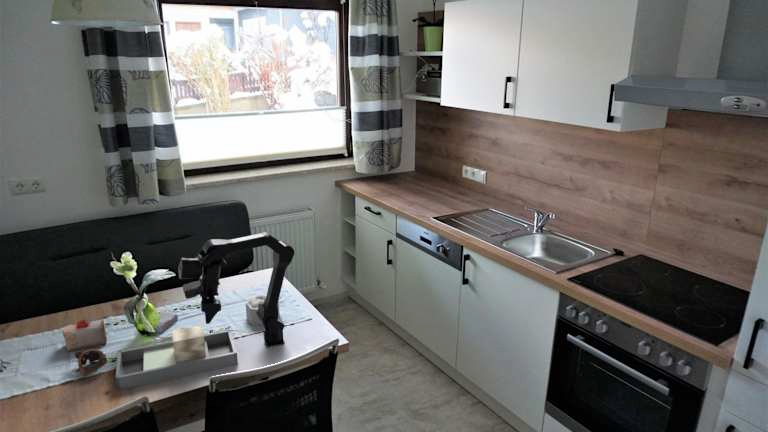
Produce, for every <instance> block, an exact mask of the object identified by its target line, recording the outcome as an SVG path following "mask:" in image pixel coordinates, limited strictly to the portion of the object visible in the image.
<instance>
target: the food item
mask: <svg viewBox="0 0 768 432" xmlns="http://www.w3.org/2000/svg"><path fill="white" fill-rule="evenodd" d="M105 328H106V327H105V321H104V319H99V320H94V321H89V320H86V319H85V318H84V317H83V318H82V319H81V320H79V321H77V322H76V324H72V325H68V326H65V327H64V329H63V330H62V336H63V338H64V344H65V347H66V350H67V352H72V351H77V350H79V349H84V348H89V347H90V348H91V347H95V346H96V347H97V346H100V345H101V346H102V345H106V344H107V343H108V342H107V339H108V337H107V333H106V329H105Z"/></svg>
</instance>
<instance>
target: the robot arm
mask: <svg viewBox="0 0 768 432" xmlns="http://www.w3.org/2000/svg"><path fill="white" fill-rule="evenodd" d="M265 246H267V247H268V248H269V249H271V250H272V260H273V261H272V262H273V267H272V272H271V274H270V275H271V276H270V280H269V283H268V288H267V292H266V295H265V296H266V300H265V302H264V303H263V304H259V305H258V311H257V312H256V313H257V315H258V319H259V320H260V321H261V323H262V326H263V327H264V330H263V341H264V344H266V346H267V347H268V348H269V347H273V346H279V345H283V344H285V339H284V329H285V327H286V326H285V324H284V323H283V321H282V320H281V318H280V317H278V314H279V313H278V300H279V299H280V295H281V292H282V286H283V283H284V279H285V275H286V271H287V268H288V267H289V266H290V264H291V263H292V261H293V258H294V256H295V250H294V248H293V247H292V246H291V245H290V244H289V243H288V242H287V241H285V240H278V239H277V238H276V237H275V236H273V235H271V234H270V233H269V232H268V231H263V232H261V233H260V232H259V233H255V234H251V235H247V236H242V237H237V238H232V239H222V238H221V239H220V238H218V239H217V238H216V239H215V238H213V239H208V240H206V241H205V242H204V243H203V245H202V248H201V249H200V251H198V253H196V255H195V257H194V258H191V257H189V258H188V257H187V258H186V257H181V258H180V262H179V265H178V268H177V269H178V270H177V271H178V278H179V280H185V279H198V278H199V279H198V280H196V281H191V282H189V283H184V284H183V285H182V291H183V293H184V294H183V295H184V297H185V299H194V298H196V297H197V296H199V297H201V301H200V311H201V312H202V313H204V318H205V324H207V325H209V324H211V322H212V320H213V319H214V318H215V316H216V315H217V314H218V313H219V312H221V311H222V303H221V300H220V299H219V298H215V297H216V296H217V297H218V296H219V294H220V293H219V286H220V285H221V282H220V274H221V267H226V266H227V267H228V263H227V262H226V260H225V259H224V258H226V257H228V256H230V255H231V254H234V253H237V252H241V251H246V250H247V251H248V250H250V249H256V248H260V247H265ZM279 301H280V300H279Z"/></svg>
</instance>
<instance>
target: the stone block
mask: <svg viewBox="0 0 768 432" xmlns="http://www.w3.org/2000/svg"><path fill="white" fill-rule="evenodd" d="M157 313H158V314H159V317H160V320H159V322H158V324H157V325H156V326H157V329H156V331H157V333H156V334H163V333H165V332H166V331H167V330H168V329H169V328H170V327H172V325H174V324H176V322H177V321H178V319H179V316H178V314H177V313H174V312H170V311H163V312H157Z"/></svg>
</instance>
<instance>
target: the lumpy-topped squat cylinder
mask: <svg viewBox="0 0 768 432" xmlns="http://www.w3.org/2000/svg"><path fill="white" fill-rule="evenodd" d="M266 296H267V295H264V296H263V294H258V295H256V296H255V298H254V297H253V298H251V299H248V300H247V301H245V314H246V320H247V321H248V322H249V324H250V325H251V326H263V324H262V323H261V321H260V320H259V319H258V315H257V313H256V312H257V311H258V305H259V304H263V303H264V302H265V300H266ZM279 301H280V300H278V313H279V314H278V318H280V314H281V313H280V302H279Z"/></svg>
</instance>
